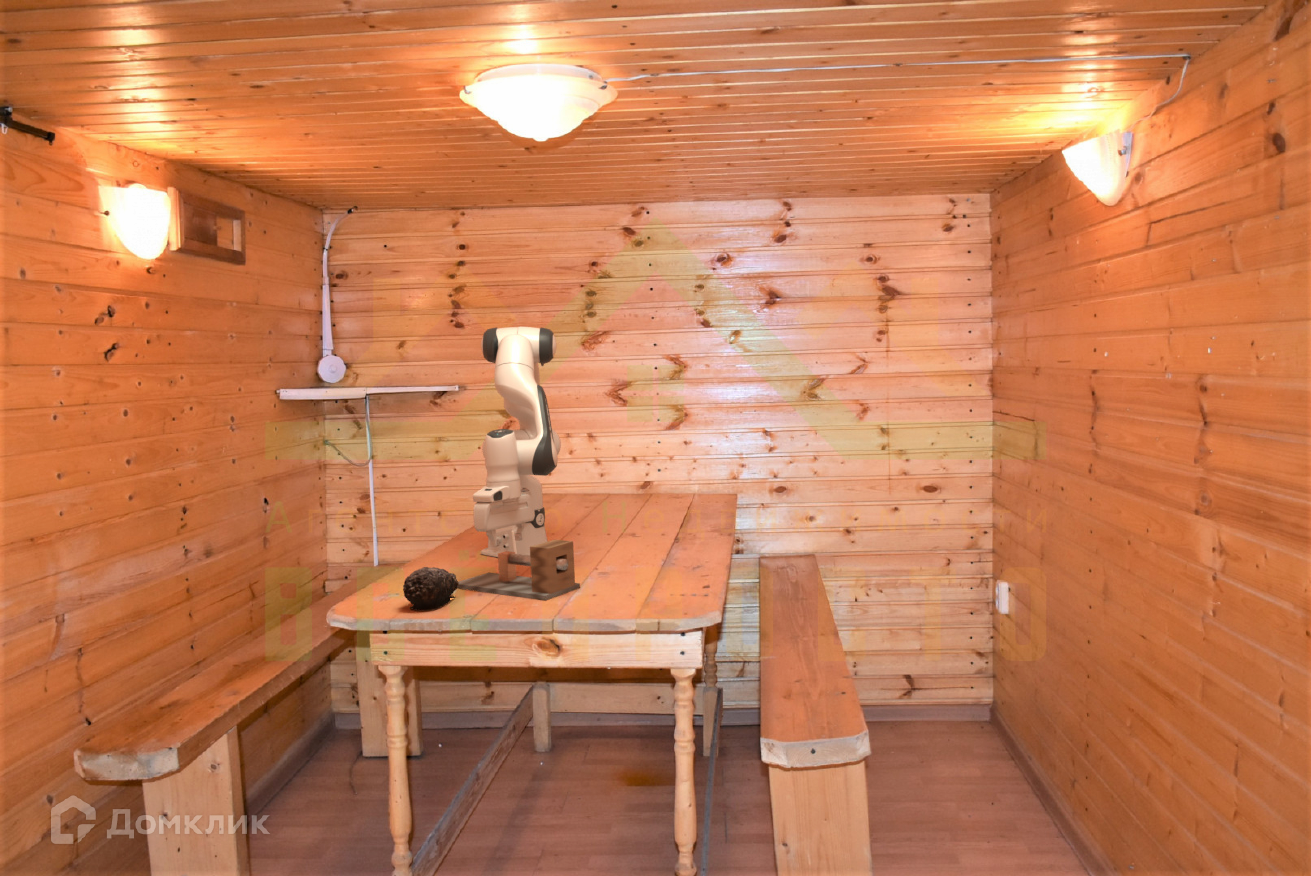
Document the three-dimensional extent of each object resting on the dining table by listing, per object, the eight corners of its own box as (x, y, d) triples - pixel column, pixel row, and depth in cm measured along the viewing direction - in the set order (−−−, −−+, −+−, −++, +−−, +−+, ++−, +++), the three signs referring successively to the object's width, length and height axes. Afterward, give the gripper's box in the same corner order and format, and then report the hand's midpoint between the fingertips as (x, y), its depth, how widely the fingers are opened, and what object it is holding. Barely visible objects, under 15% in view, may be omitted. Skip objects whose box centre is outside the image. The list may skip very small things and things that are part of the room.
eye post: (452, 587, 248) (450, 540, 247) (489, 576, 260) (486, 531, 259) (545, 600, 231) (543, 550, 230) (580, 587, 242) (577, 539, 241)
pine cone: (464, 594, 240) (462, 556, 239) (438, 613, 223) (436, 572, 222) (425, 594, 242) (423, 557, 241) (397, 613, 224) (395, 572, 223)
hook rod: (499, 580, 246) (497, 553, 246) (507, 577, 249) (506, 551, 248) (561, 588, 235) (560, 560, 234) (569, 585, 237) (568, 557, 237)
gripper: (520, 486, 255) (523, 536, 256) (467, 496, 238) (471, 549, 239) (538, 486, 251) (541, 537, 252) (486, 496, 234) (489, 550, 235)
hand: (507, 543), depth 245 cm, fingers open, 8 cm apart
